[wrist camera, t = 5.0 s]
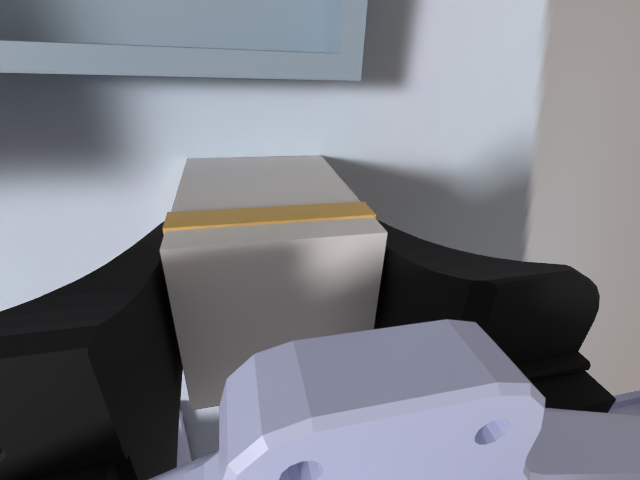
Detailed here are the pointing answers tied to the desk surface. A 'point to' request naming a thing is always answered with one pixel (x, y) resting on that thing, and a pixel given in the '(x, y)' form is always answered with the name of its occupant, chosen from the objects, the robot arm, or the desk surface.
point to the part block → (265, 262)
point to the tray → (185, 38)
